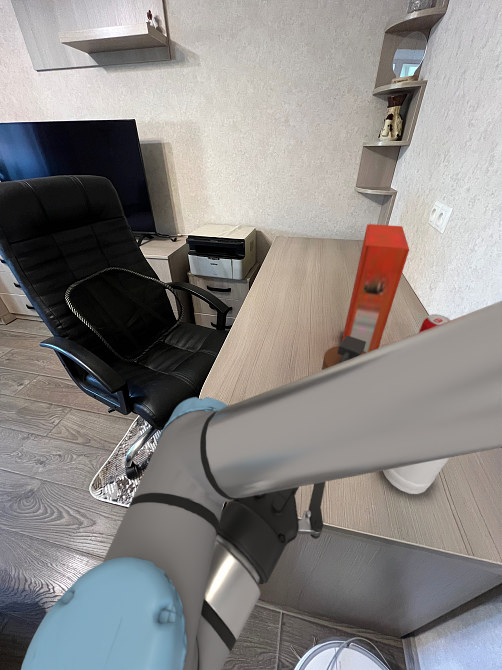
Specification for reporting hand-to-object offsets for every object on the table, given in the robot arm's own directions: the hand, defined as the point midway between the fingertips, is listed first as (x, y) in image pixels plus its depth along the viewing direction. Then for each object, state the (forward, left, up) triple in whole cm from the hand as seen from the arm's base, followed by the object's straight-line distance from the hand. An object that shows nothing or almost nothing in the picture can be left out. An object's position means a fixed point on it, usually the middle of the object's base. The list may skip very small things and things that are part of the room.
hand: (326, 410), depth 44 cm
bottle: (0, -16, -13) cm, 20 cm away
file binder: (+33, -12, -13) cm, 38 cm away
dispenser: (+7, -4, -13) cm, 15 cm away
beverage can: (+34, -30, -13) cm, 47 cm away
